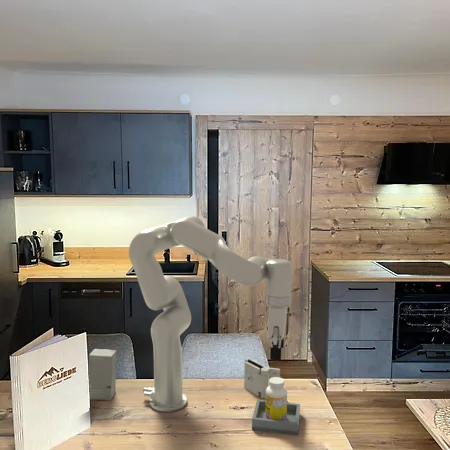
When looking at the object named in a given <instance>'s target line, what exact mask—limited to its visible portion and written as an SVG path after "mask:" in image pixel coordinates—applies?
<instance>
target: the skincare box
mask: <svg viewBox="0 0 450 450" xmlns="http://www.w3.org/2000/svg"><path fill="white" fill-rule="evenodd" d="M116 369H117V350H116V349H106V348H104V349H103V348H101V349H100V348H94V349H93V350H92V351H91V352H90V353H89V355H88V373H87V376H88V375H89V392H90V400H96V401H97V400H99V401H103V400H104V401H111V400H112V399H113V396H114V395H115V393H116V388H117V387H116V385H117V384H116V383H117V382H116V379H117V373H116V372H117V370H116Z"/></svg>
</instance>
